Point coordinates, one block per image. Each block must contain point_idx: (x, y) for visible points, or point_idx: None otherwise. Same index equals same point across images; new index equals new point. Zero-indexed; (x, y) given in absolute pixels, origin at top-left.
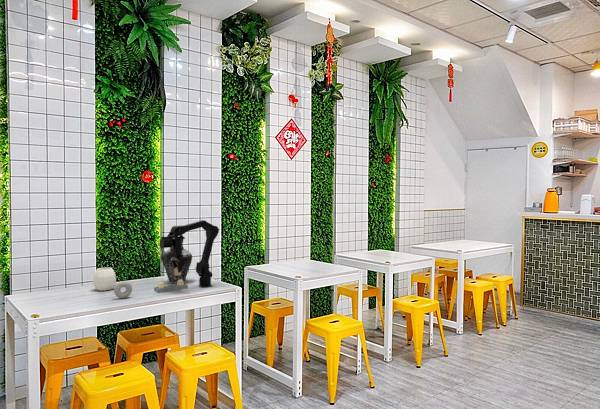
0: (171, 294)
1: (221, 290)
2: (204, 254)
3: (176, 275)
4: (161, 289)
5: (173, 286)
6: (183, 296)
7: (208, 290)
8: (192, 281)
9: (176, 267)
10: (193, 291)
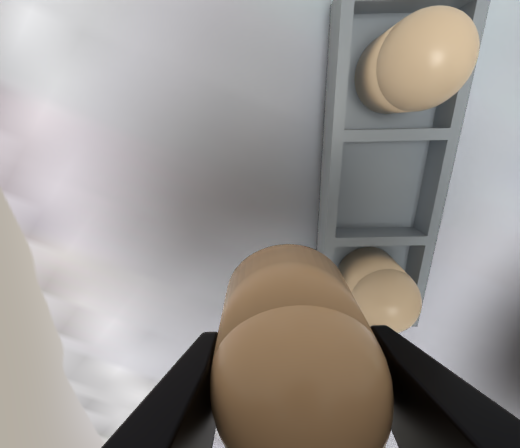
0: (154, 96)
1: (101, 425)
2: None
3: (242, 263)
4: (335, 41)
5: (417, 229)
6: (8, 155)
7: (145, 377)
8: (514, 414)
9: (297, 439)
10: (171, 295)
